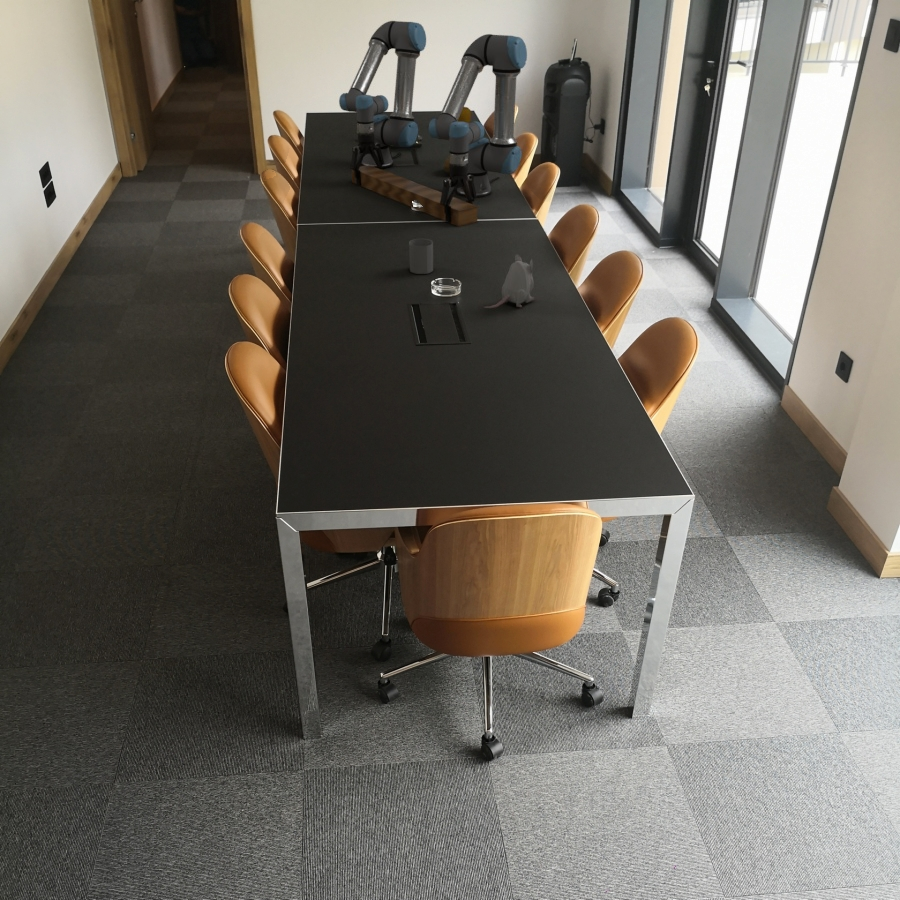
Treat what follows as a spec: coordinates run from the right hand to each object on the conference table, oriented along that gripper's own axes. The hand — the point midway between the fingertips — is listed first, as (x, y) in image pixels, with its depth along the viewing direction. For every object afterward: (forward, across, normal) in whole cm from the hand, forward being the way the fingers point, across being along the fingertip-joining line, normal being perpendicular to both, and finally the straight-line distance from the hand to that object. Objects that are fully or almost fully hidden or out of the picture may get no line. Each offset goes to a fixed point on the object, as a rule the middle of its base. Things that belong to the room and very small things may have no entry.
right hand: (458, 219), depth 355 cm
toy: (+1, -42, -80) cm, 90 cm away
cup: (+1, -45, -36) cm, 58 cm away
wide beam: (0, 0, +34) cm, 34 cm away
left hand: (0, 0, +68) cm, 68 cm away
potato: (0, +41, +57) cm, 70 cm away
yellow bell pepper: (0, +100, +125) cm, 161 cm away
